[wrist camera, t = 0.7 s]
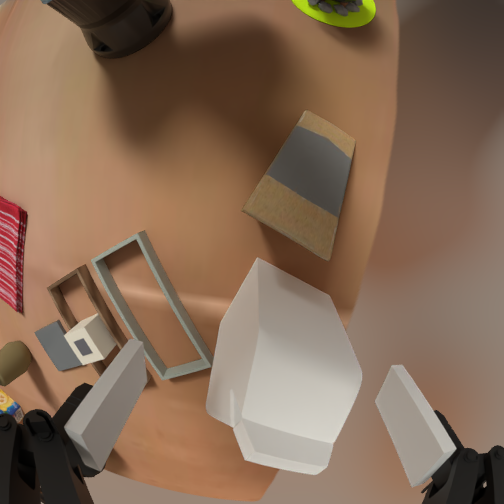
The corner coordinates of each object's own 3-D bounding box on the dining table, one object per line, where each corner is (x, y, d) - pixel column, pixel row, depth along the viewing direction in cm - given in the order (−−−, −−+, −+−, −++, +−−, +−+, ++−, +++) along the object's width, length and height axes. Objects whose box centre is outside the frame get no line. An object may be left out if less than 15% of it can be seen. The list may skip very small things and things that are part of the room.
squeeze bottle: (33, 347, 44) (-12, 387, 27) (36, 370, 46) (-4, 410, 28) (12, 330, 44) (-33, 364, 26) (15, 353, 46) (-25, 388, 28)
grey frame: (98, 256, 38) (90, 260, 36) (144, 230, 37) (137, 233, 35) (166, 372, 43) (162, 380, 40) (214, 358, 42) (211, 366, 39)
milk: (329, 295, 39) (405, 431, 13) (288, 354, 41) (308, 502, 16) (257, 257, 38) (249, 386, 12) (220, 322, 40) (176, 471, 15)
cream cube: (81, 320, 41) (63, 335, 36) (101, 311, 41) (83, 327, 35) (98, 348, 43) (82, 365, 37) (119, 340, 42) (104, 359, 36)
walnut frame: (54, 283, 40) (46, 287, 38) (85, 264, 39) (77, 268, 36) (116, 383, 44) (111, 391, 42) (151, 375, 43) (147, 383, 41)
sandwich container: (358, 141, 34) (411, 117, 19) (303, 234, 37) (330, 264, 22) (305, 107, 33) (330, 61, 18) (248, 202, 36) (239, 211, 22)
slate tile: (36, 330, 43) (34, 332, 42) (58, 319, 42) (56, 321, 41) (60, 369, 45) (58, 371, 44) (85, 362, 44) (83, 364, 43)
